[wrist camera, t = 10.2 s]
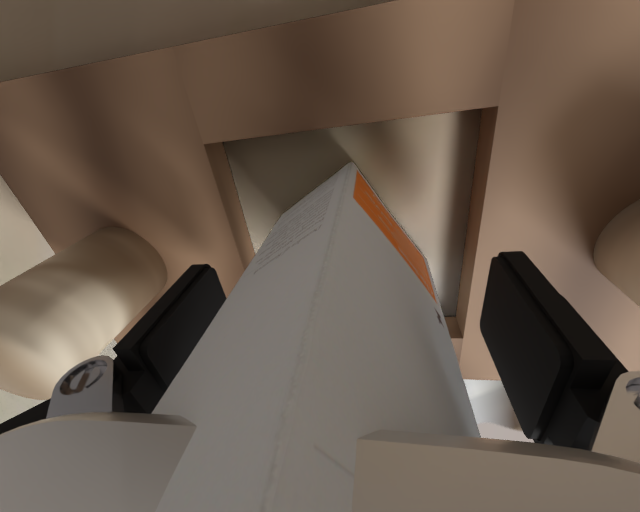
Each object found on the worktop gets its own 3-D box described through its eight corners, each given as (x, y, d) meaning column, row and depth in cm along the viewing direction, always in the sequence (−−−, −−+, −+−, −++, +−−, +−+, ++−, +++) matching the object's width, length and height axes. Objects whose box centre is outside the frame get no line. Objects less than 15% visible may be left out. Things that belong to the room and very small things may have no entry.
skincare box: (430, 257, 14) (591, 761, 4) (356, 297, 16) (330, 702, 6) (351, 152, 12) (240, 614, 2) (278, 211, 14) (16, 599, 4)
